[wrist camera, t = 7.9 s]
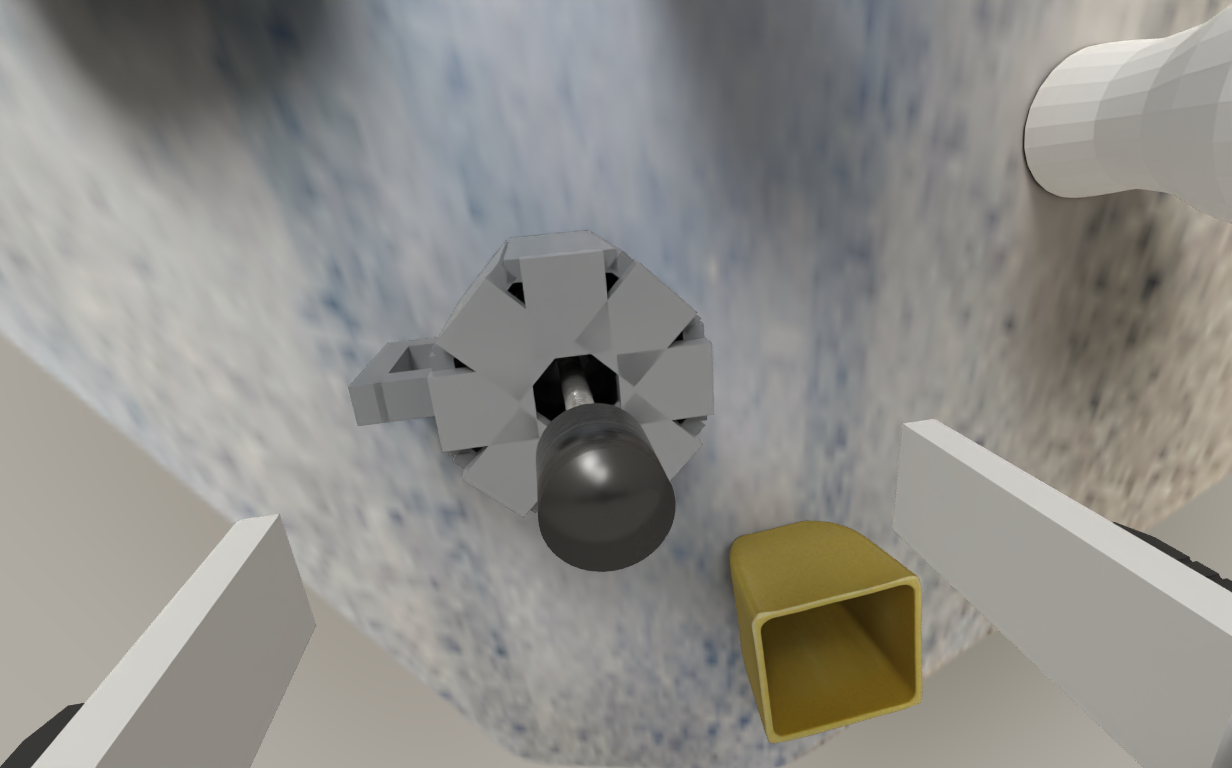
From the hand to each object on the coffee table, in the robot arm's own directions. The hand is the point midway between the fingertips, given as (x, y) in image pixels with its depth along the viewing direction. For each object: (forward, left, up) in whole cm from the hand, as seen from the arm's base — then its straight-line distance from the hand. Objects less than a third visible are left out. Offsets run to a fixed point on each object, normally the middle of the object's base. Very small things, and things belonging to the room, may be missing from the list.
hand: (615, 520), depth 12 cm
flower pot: (+17, +12, -20) cm, 29 cm away
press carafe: (0, -2, -20) cm, 20 cm away
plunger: (0, 0, -18) cm, 18 cm away
